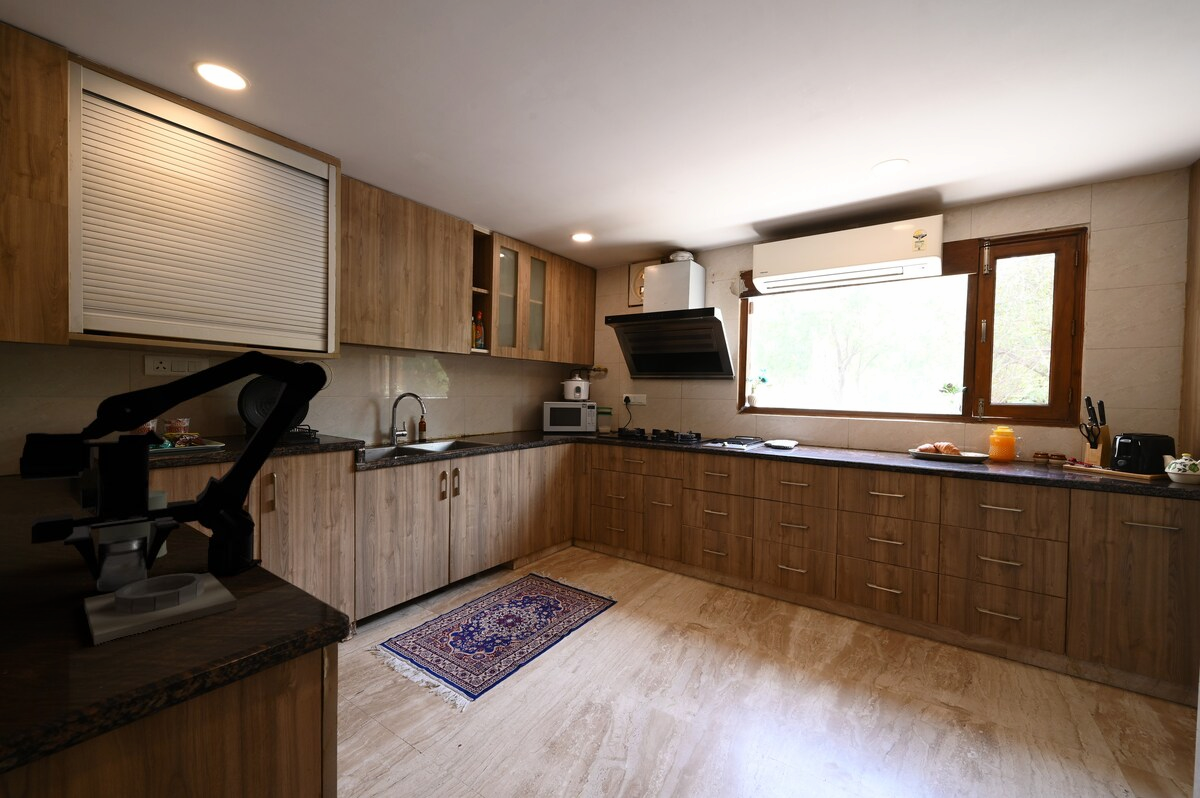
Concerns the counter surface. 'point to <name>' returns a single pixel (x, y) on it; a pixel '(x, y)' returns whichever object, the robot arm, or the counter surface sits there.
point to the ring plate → (155, 604)
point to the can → (155, 502)
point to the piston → (121, 561)
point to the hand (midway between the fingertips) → (122, 574)
